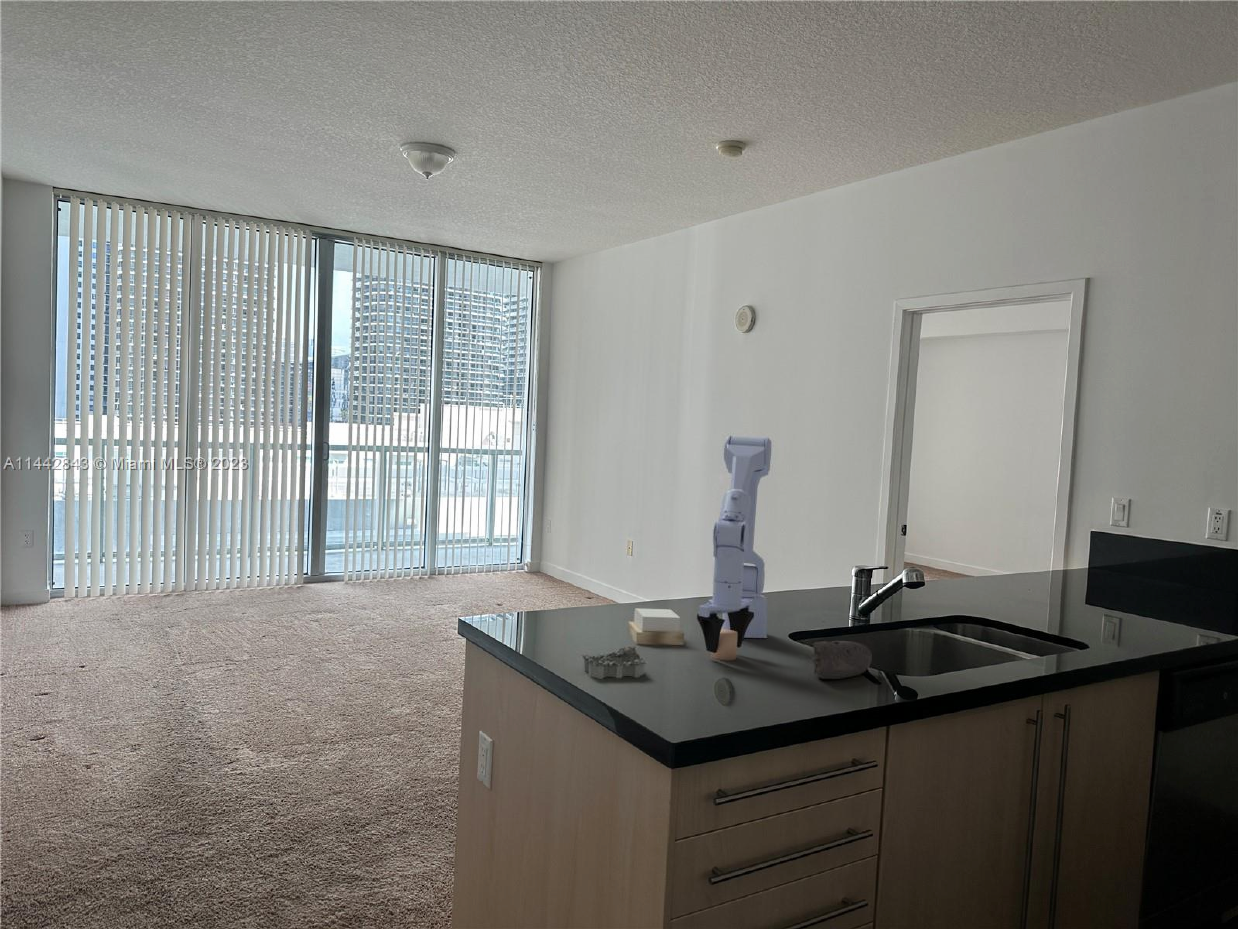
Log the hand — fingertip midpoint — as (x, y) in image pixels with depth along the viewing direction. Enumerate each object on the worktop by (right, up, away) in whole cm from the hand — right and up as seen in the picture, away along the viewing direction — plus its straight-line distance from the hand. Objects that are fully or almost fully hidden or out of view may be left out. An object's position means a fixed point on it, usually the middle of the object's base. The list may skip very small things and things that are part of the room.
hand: (723, 649), depth 163 cm
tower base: (-13, -1, +12) cm, 18 cm away
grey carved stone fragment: (-22, -1, -15) cm, 27 cm away
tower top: (-13, +2, +12) cm, 18 cm away
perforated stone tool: (+21, -3, -10) cm, 23 cm away
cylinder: (0, -2, 0) cm, 2 cm away
